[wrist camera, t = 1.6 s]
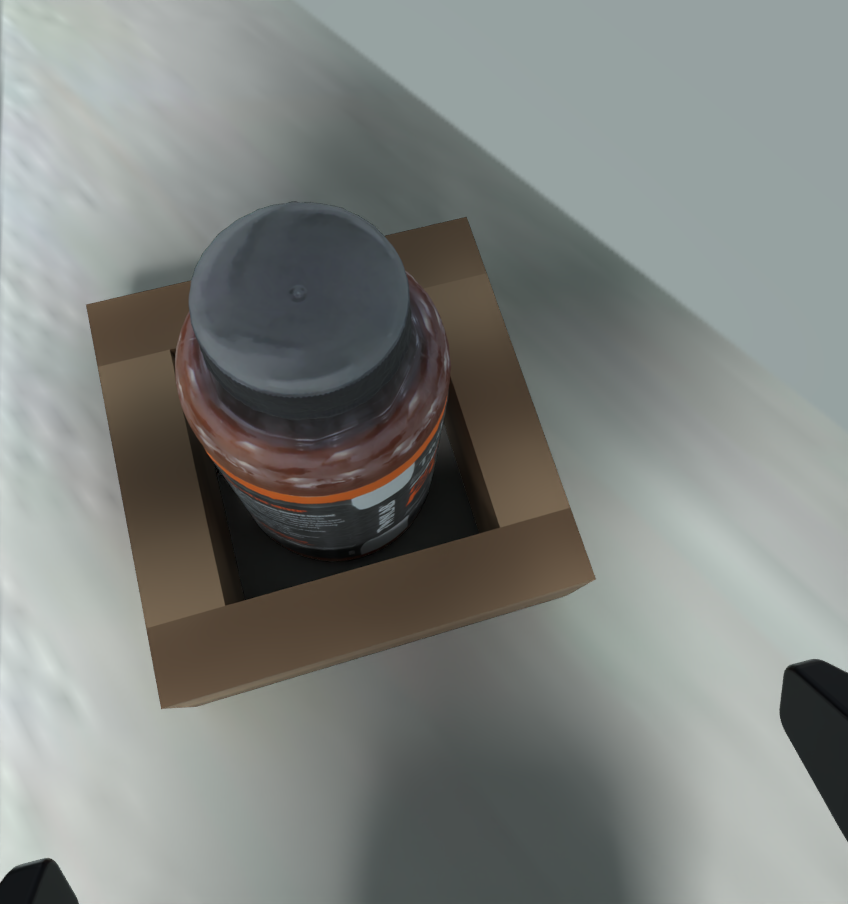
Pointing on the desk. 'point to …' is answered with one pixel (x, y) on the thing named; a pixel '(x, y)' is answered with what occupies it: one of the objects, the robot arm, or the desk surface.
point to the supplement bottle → (315, 377)
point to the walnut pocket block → (359, 590)
